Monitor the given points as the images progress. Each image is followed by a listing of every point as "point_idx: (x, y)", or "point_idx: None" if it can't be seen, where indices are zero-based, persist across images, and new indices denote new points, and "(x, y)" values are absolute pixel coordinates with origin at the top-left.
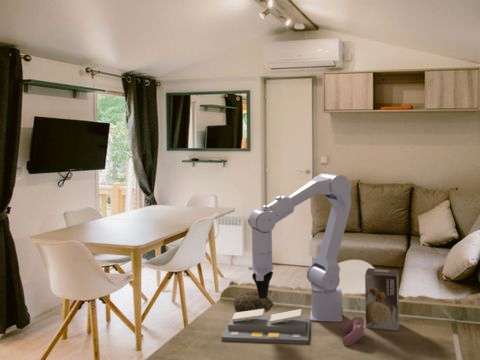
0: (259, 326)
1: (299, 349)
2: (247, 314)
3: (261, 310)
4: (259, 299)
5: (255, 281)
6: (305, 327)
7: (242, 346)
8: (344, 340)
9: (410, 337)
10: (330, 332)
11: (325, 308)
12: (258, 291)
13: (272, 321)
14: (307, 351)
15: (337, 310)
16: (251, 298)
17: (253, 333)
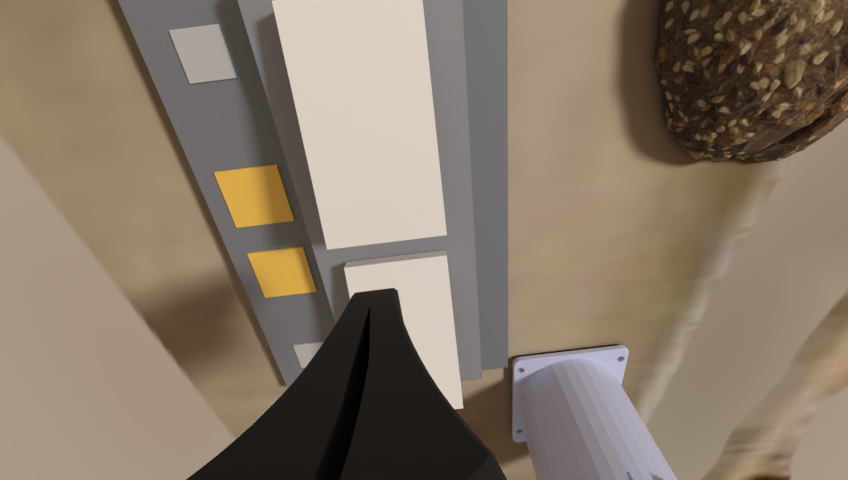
0: (302, 209)
1: (232, 363)
2: (357, 126)
3: (415, 222)
4: (749, 108)
5: (225, 459)
6: None
7: (124, 139)
8: None
9: None
10: None
11: (533, 448)
12: (330, 338)
13: (346, 279)
14: (229, 386)
15: (535, 466)
16: (771, 40)
17: (256, 176)
